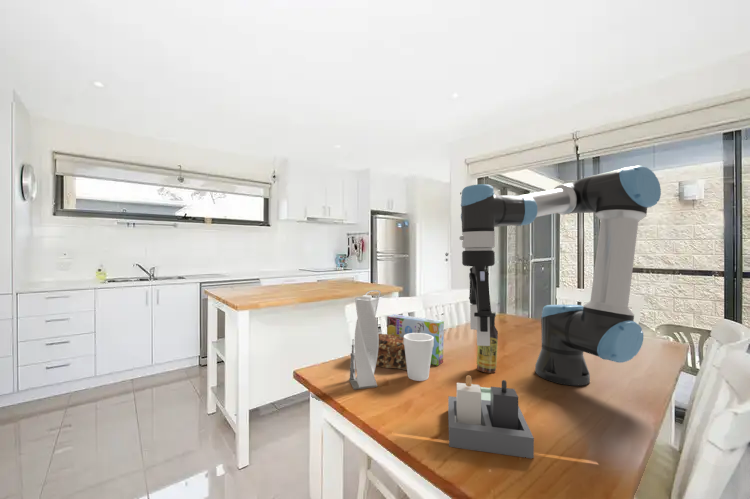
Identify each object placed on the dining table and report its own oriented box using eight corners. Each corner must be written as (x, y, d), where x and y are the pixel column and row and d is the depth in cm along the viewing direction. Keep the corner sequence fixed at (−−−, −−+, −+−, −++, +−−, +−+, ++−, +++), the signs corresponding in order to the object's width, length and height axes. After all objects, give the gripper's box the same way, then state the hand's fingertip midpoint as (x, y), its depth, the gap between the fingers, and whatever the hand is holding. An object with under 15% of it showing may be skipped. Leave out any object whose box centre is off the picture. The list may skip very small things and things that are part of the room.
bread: (355, 364, 110) (355, 336, 110) (365, 355, 120) (365, 329, 120) (407, 371, 104) (408, 341, 104) (413, 361, 114) (414, 333, 114)
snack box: (444, 361, 114) (444, 320, 114) (438, 366, 109) (439, 323, 109) (392, 351, 125) (393, 313, 125) (385, 355, 120) (386, 315, 120)
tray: (494, 393, 89) (494, 388, 89) (503, 416, 76) (503, 411, 76) (458, 389, 91) (458, 384, 91) (460, 411, 79) (460, 406, 78)
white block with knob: (478, 424, 72) (479, 373, 72) (480, 434, 68) (481, 380, 68) (456, 421, 73) (456, 371, 73) (456, 431, 69) (457, 377, 69)
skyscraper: (375, 377, 99) (376, 288, 99) (383, 388, 91) (384, 291, 91) (349, 379, 97) (350, 289, 97) (354, 391, 89) (355, 292, 89)
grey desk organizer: (517, 420, 75) (518, 370, 75) (533, 458, 61) (534, 397, 61) (448, 412, 78) (448, 364, 78) (449, 446, 65) (449, 388, 64)
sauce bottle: (477, 372, 103) (477, 312, 103) (476, 366, 110) (477, 309, 110) (498, 375, 102) (499, 313, 102) (496, 368, 108) (497, 310, 108)
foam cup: (432, 386, 93) (433, 342, 93) (401, 383, 95) (402, 340, 95) (433, 373, 102) (433, 333, 102) (405, 371, 104) (405, 332, 104)
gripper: (458, 249, 89) (459, 323, 90) (466, 250, 65) (468, 353, 65) (486, 248, 88) (487, 324, 88) (505, 250, 64) (506, 354, 64)
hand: (479, 336), depth 77 cm, fingers open, 13 cm apart
